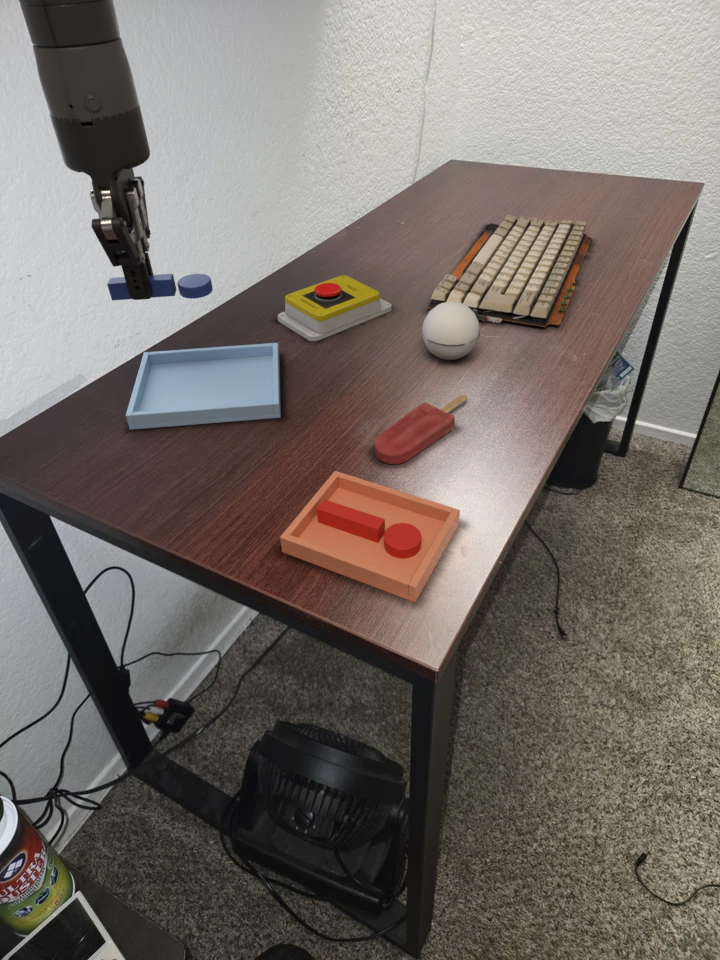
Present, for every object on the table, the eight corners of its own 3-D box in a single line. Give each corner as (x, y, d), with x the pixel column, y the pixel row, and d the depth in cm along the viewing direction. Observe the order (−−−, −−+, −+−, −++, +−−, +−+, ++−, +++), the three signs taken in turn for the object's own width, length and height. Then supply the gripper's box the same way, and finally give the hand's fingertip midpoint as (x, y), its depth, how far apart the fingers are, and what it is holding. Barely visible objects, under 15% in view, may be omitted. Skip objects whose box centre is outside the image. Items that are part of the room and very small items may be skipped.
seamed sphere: (410, 362, 86) (412, 310, 81) (436, 337, 90) (438, 287, 86) (482, 382, 82) (488, 328, 77) (504, 355, 86) (511, 303, 82)
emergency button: (271, 290, 93) (354, 262, 100) (275, 319, 96) (355, 289, 103) (310, 313, 87) (394, 281, 94) (312, 342, 90) (394, 309, 97)
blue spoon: (110, 305, 66) (105, 288, 65) (116, 290, 69) (111, 273, 68) (211, 297, 67) (208, 280, 66) (213, 283, 69) (210, 266, 68)
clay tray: (281, 552, 61) (279, 537, 59) (335, 485, 68) (334, 470, 66) (415, 602, 56) (416, 587, 55) (458, 525, 63) (460, 509, 61)
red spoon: (312, 528, 62) (311, 515, 61) (330, 506, 64) (329, 492, 63) (412, 563, 59) (412, 549, 57) (426, 538, 61) (427, 524, 60)
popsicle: (482, 396, 76) (397, 459, 68) (480, 408, 77) (397, 472, 69) (450, 382, 78) (365, 441, 70) (449, 394, 79) (365, 454, 72)
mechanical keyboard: (487, 225, 122) (489, 206, 120) (593, 238, 116) (597, 219, 114) (424, 315, 96) (426, 293, 94) (557, 337, 90) (561, 314, 88)
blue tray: (129, 429, 76) (125, 415, 74) (147, 365, 87) (143, 352, 85) (280, 417, 77) (278, 403, 76) (279, 355, 88) (277, 342, 86)
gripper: (68, 89, 61) (118, 269, 73) (26, 126, 51) (93, 328, 62) (149, 85, 62) (187, 264, 73) (124, 120, 51) (172, 322, 63)
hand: (143, 293), depth 68 cm, fingers closed on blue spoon, 1 cm apart
